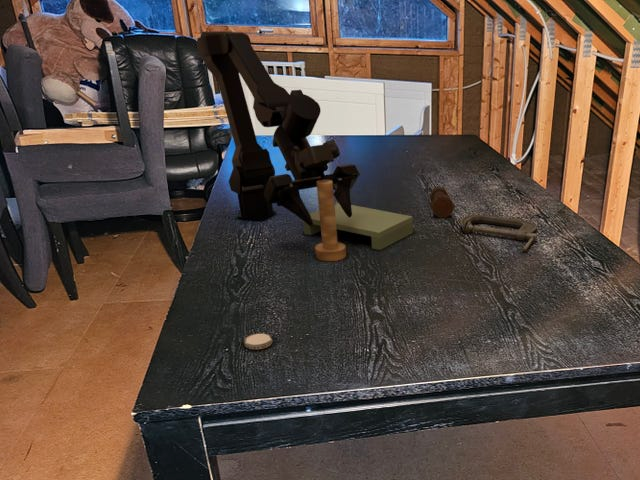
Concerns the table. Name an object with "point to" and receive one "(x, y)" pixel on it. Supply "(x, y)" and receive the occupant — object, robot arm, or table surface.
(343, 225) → the shelf
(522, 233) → the c clamp
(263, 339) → the tan bottle cap
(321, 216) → the wooden peg stand
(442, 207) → the bolt
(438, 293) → the table surface
